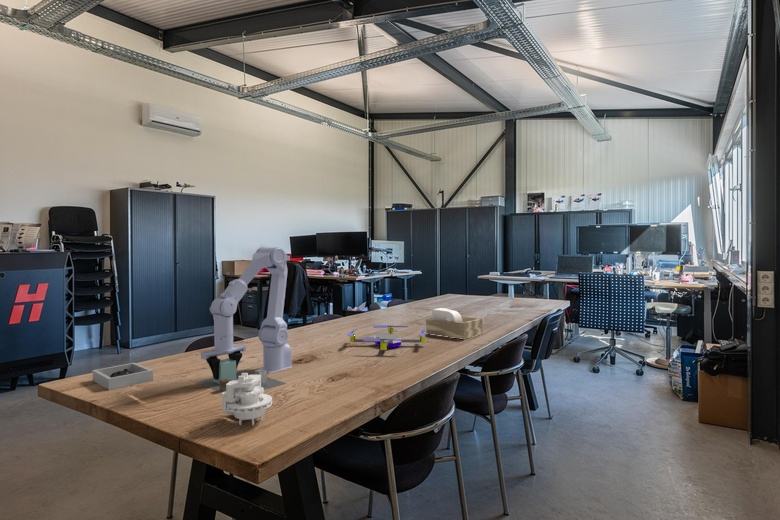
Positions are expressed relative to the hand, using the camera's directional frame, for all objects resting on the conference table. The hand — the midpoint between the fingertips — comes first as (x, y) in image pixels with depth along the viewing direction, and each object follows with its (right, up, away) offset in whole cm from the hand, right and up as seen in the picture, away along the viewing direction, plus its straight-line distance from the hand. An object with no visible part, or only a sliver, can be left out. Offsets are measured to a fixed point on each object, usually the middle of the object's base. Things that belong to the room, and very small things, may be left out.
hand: (224, 377), depth 144 cm
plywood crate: (+85, +1, +78) cm, 116 cm away
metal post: (+13, -2, -5) cm, 14 cm away
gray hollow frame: (-36, -2, +5) cm, 36 cm away
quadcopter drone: (+52, -1, +54) cm, 75 cm away
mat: (+6, -2, -1) cm, 6 cm away
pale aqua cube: (0, -1, 0) cm, 1 cm away
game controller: (-37, -3, +5) cm, 37 cm away
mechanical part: (+18, -3, -31) cm, 36 cm away
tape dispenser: (+84, 0, +78) cm, 115 cm away
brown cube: (+3, -2, -8) cm, 9 cm away
